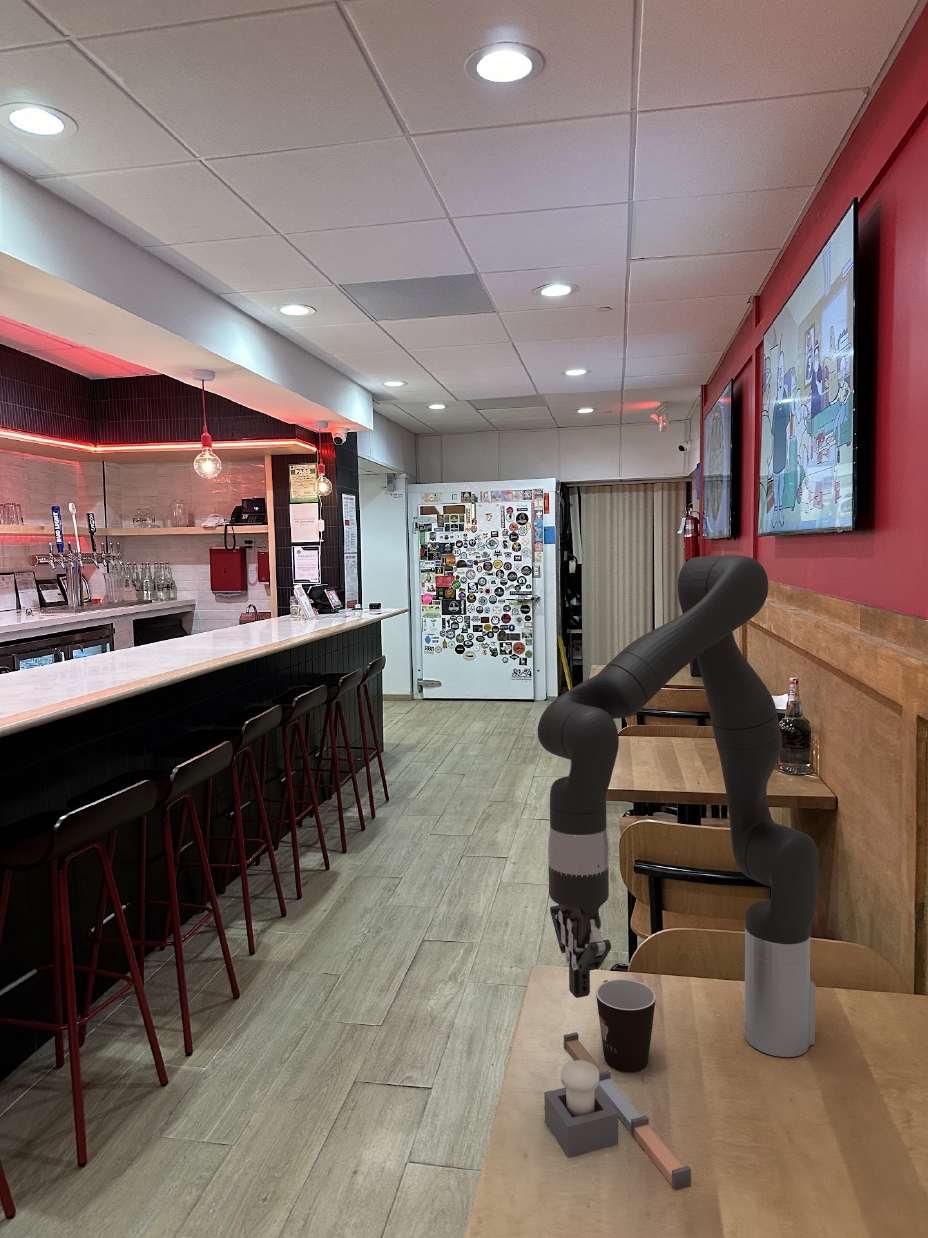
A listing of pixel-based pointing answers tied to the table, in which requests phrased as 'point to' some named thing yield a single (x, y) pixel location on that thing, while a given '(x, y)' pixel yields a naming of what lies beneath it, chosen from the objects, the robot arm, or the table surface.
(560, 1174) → the table surface
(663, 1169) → the terracotta segment
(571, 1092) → the dome plunger
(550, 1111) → the dome housing
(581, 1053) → the walnut segment
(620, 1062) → the coffee mug
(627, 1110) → the slate segment
